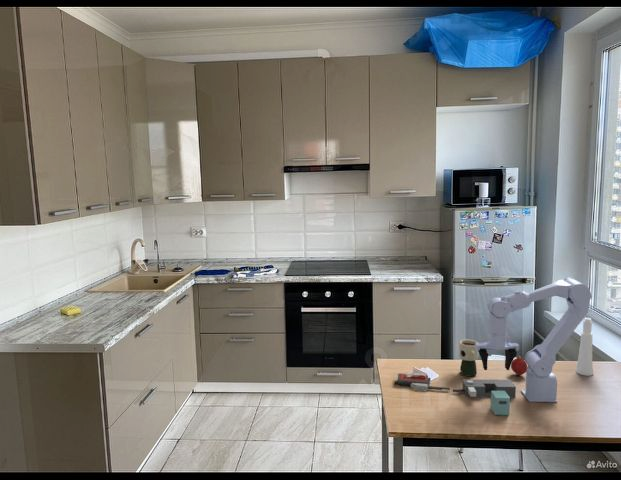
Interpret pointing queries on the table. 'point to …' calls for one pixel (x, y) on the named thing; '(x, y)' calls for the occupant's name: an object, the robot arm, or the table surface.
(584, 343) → the cosmetic bottle
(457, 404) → the table surface
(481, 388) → the power strip
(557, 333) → the robot arm
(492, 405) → the charger
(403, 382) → the walkie-talkie
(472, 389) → the block
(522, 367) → the onion
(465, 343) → the character mug
